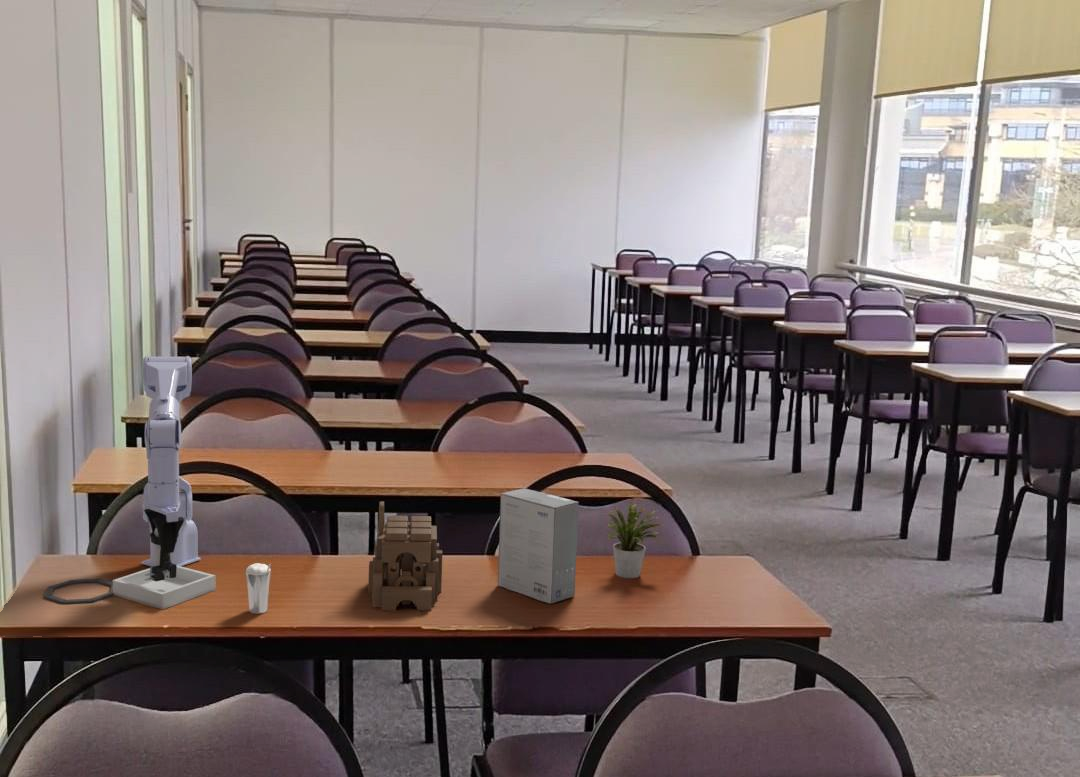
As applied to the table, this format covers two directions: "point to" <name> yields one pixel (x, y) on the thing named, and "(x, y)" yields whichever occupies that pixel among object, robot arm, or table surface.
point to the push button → (161, 562)
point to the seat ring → (49, 596)
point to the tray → (164, 587)
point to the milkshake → (258, 587)
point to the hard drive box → (538, 545)
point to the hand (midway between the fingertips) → (164, 548)
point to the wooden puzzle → (405, 563)
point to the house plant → (630, 541)
